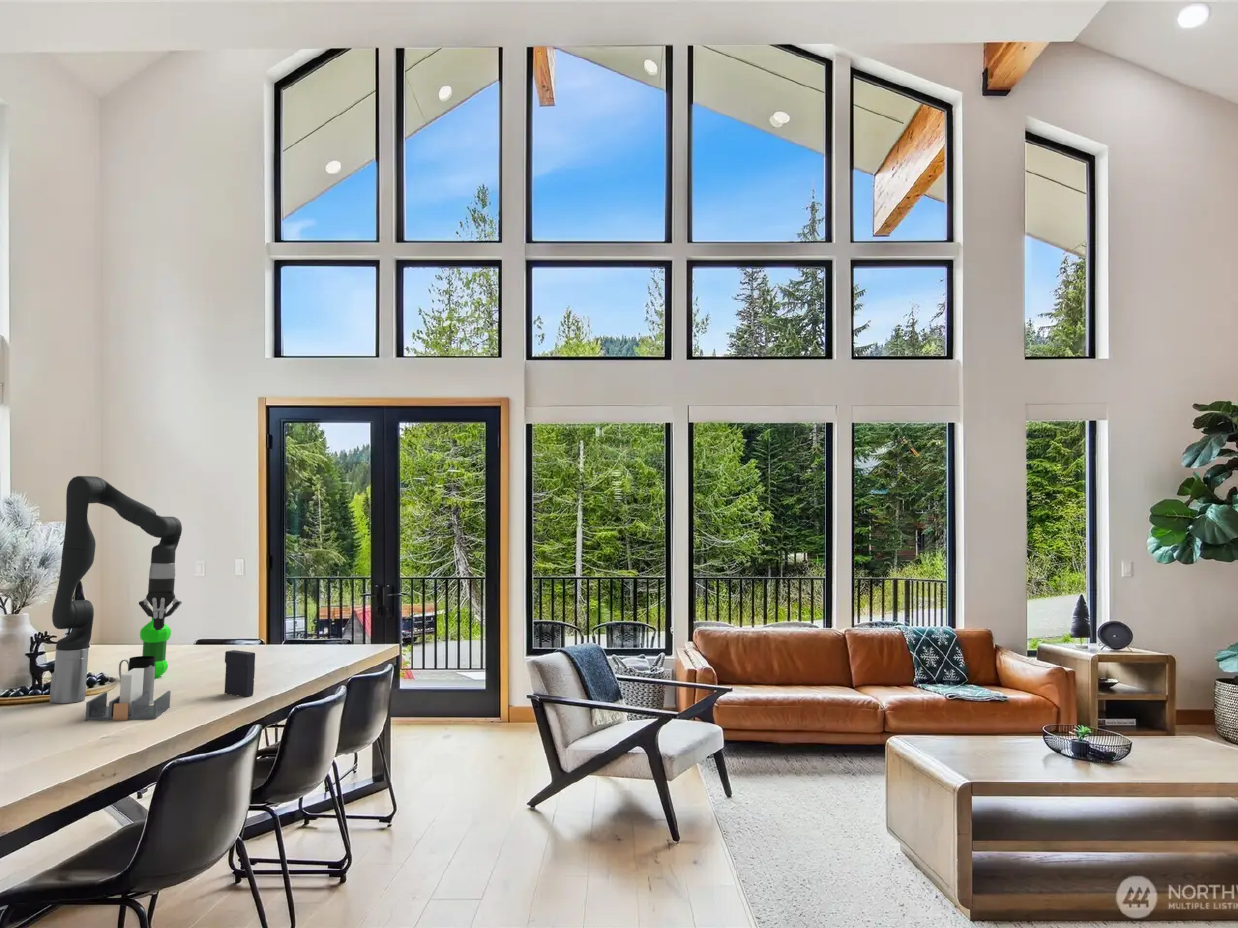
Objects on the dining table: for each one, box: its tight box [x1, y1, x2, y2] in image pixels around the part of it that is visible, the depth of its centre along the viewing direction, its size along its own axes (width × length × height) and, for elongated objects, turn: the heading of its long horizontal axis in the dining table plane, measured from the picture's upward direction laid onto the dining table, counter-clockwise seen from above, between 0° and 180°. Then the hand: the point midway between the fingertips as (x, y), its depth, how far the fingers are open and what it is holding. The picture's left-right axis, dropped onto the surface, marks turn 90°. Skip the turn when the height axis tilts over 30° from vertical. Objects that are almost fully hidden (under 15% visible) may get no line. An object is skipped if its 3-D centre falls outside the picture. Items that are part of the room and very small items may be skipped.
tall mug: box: [118, 655, 155, 705], centre depth 278 cm, size 9×14×15 cm, turn 71°
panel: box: [119, 668, 144, 714], centre depth 264 cm, size 3×12×12 cm, turn 14°
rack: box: [84, 690, 172, 722], centre depth 262 cm, size 19×16×6 cm
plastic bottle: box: [139, 617, 172, 679], centre depth 322 cm, size 10×10×25 cm
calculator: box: [224, 649, 256, 698], centre depth 294 cm, size 11×4×15 cm, turn 65°
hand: (158, 629), depth 274 cm, fingers closed
